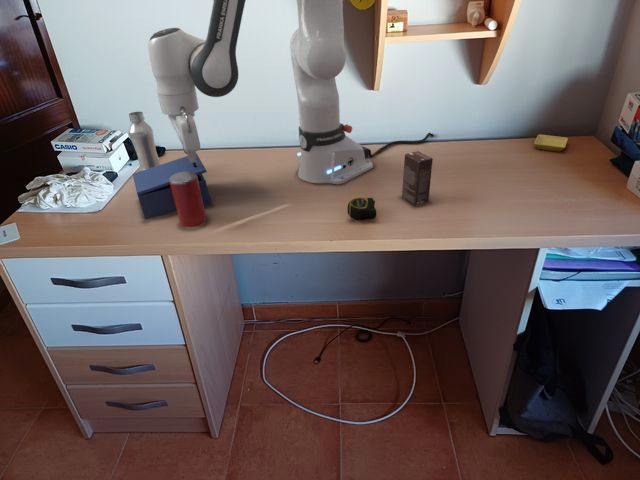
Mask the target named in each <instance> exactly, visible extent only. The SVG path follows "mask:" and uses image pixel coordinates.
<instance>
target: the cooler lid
mask: <svg viewBox="0 0 640 480" xmlns="http://www.w3.org/2000/svg"><path fill="white" fill-rule="evenodd" d="M183 148H184V147H183V146H182V149H183ZM184 150H185V149H184ZM184 150H183V151H184ZM185 152H186V151H185ZM185 152H184V153H185ZM185 154H186V156H183V157H180V158H177V159H174V160H171V161H168V162H167V161H166V162H164V163H161V165H158V166H155V167H152V168H149V169H146V170H143V171H140V170H139V171H137V172H134V173H132V177H133V183H134V186H135V187H134V188H135V190H136V191H135V192H136V194H137V196H138V195H141V194H144V193H147V192H150V191H153V190H156V189H159V188H161V187H164V186H167V185H170V183H169V180H170V177H171V176H172V175H174V174H176V173H179V172H186V171H189V172H194V173H195V174H196V175H200V174H202V175H203V174H206V173H207V169H206V167H205V165H204V163H203V161H202V160H201V158H200V157H199V155H198V153H197V152H196V160H197V161H196V162H195V163H190V162H189V160H188V154H187V152H186V153H185Z"/></svg>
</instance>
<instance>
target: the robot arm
mask: <svg viewBox="0 0 640 480" xmlns="http://www.w3.org/2000/svg"><path fill="white" fill-rule="evenodd" d="M246 1H247V0H212V6H211V12H210V17H209V23H208V27H207V33H206V39H202V38H199V37H196V36H194V35H191V34H189V33H187V32H186V31H184V30H182V29H181V28H179V27H169V28H165V29H161V30H158V31H157V32H154V33H153V34H152V35H151V36H150V37H149V40H148V45H147V47H148V55H149V63H150V66H151V71H152V75H153V77H154V79H155V81H156V92H157V97H158V102H159V106H160V110H161V113H162V114H164V115H165V116H167V117H168V120H170V123H171V126H172V128H173V130H174V132H175V134H176V136H177V138H178V140H179V141H180V143H181V145H182V149H183V152H184V154H186V152H187V154H188V155H187V154H186V155H187V156H188V160H189V162H190V163H195V162H196V161H197V160H196V153H197V152H198V151H200V150H201V142H200V137H199V132H198V129H197V124H196V121H195V116H196V114H195V113H196V111H198V110H199V108H200V106H199V100H198V95H197V90H198V91H199V92H200V93H201V94H203V95H205V96H207V97H212V98H221V97H224V96H227V95H229V94H230V93H231V92H232V91H233V90H234V89H235V88H236V86H237V84H238V80H239V67H238V61H237V44H238V40H239V39H238V38H239V33H240V29H241V24H242V20H243V19H242V18H243V14H244V10H245V5H246ZM343 2H344V0H296V5H297V17H298V28H297V29H296V30H295V31H294V32H293V34H292V35H291V38H290V42H289V52H290V59H291V66H292V73H293V79H294V85H295V91H296V95H297V105H298V107H297V108H298V118H299V119H298V120H299V127H298V140H299V141H298V142H299V146H300V152H297V156H299V157H300V161H299V167H298V171H297V176H298V177H299V179H301V180H302V181H304V182H307V183H311V184H333V185H342V184H344V183H346V182H348V181H350V180H352V179H354V178H356V177H357V176H360V175H362V174H364V173H366V172H368V171H370V170H372V169H373V168H374V164H373V162H372V161H371V160H370V159H369V158H373V157H375V156H377V155H379V154H380V153H381V152H383V150H385V149H387V148H389V147H390V146H392V145H396V144H397V145H398V144H408V145H409V144H410V145H411V144H412V145H413V144H414V145H415V144H416V145H417V144H422V143H424V142H425V141H427V140H428V138H429V137H435V135H434V134H433V133H432V132H428V133H427V134H426V135H425V137H423V138H422V139H419V140H394V141H391V142H388V143H386V144H385V145H383V146H382V147H380V148H379V149H377V150H376V151H375V152H374V153H373V154H372V150H371V149H370V148H368V147H366V146H363V145H362V144H360V143H358V142H357V141H356V140H353V139H352V138H350V137H349V136H347V135H346V133H348V134H351V133H352V131H353V126H352V125H349V124H347V123H346V124H344V123H341V115H340V111H341V110H340V95H339V91H338V88H337V81H336V77H337V76H339V75H340V73H341V72H342V71H343V70H344V67H345V65H346V61H347V60H346V59H347V55H346V50H345V33H344V32H345V31H344V29H345V27H344V11H343V10H344V9H343V4H344V3H343ZM345 132H346V133H345ZM431 133H432V134H431ZM183 147H184V148H183ZM184 149H185V150H184ZM185 151H186V152H185Z"/></svg>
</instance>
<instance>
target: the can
mask: <svg viewBox="0 0 640 480" xmlns="http://www.w3.org/2000/svg"><path fill="white" fill-rule="evenodd" d="M169 183H170V186H171V190H172V194H173V198H174V202H175V206H176V210H177V212H176V213H177V216H178V221H179V224H180V225H181V226H182V227H185V228H195V227H198V226H201V225H203V224H204V223H205V222H206V221H207V214H206V210H205V205H203V200H202V196H201V191H200V187H199V182H198V178H197V175H196V174H195V173H194V172H189V171H186V172H179V173H176V174H174V175H172V176H171V177H170V180H169Z"/></svg>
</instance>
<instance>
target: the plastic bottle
mask: <svg viewBox="0 0 640 480" xmlns="http://www.w3.org/2000/svg"><path fill="white" fill-rule="evenodd" d="M128 117H129V122H130V126H129V128H128V136H129V139H130V141H131V143H132V145H133V147H134V150H135V152H136V156H137V160H138V164H139V172H140V171H143V170H146V169H149V168H152V167H155V166H158V165H161V164H162V163H161V160H160V158H159V155H158V152H157V148H156V144H155V143H156V142H155V136H154V130H153V128H152V127H151V126H150V124H149V123H147V122H146V121H145V120H146V119H145V116H144V113H143V111H133V112H130V113H128Z"/></svg>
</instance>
